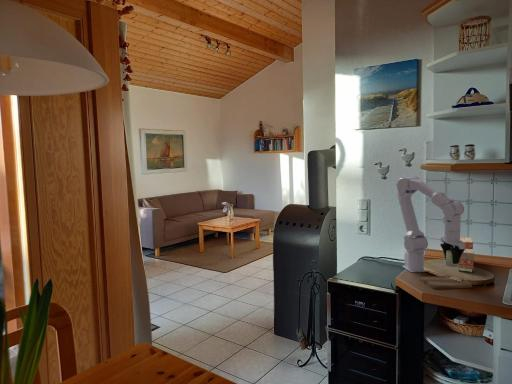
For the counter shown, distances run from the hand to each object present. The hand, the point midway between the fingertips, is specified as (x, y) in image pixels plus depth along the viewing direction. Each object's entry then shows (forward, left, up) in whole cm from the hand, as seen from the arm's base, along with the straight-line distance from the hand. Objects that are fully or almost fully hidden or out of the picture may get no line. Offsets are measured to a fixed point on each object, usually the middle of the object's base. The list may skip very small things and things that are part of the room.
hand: (451, 261), depth 167 cm
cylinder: (0, 0, -2) cm, 2 cm away
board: (+3, -4, -8) cm, 10 cm away
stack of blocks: (-20, +19, -9) cm, 29 cm away
